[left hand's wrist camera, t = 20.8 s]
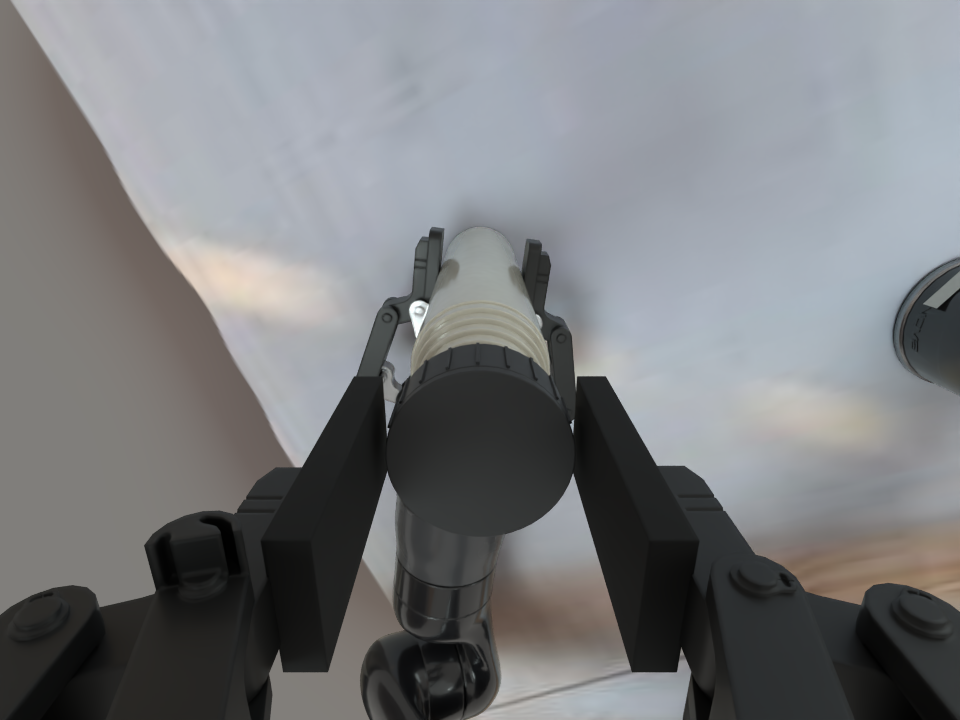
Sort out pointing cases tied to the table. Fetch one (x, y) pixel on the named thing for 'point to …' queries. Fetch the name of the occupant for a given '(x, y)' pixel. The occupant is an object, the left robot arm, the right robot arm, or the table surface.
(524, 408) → the cap
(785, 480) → the table surface
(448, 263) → the bottle
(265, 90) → the table surface
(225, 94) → the table surface
